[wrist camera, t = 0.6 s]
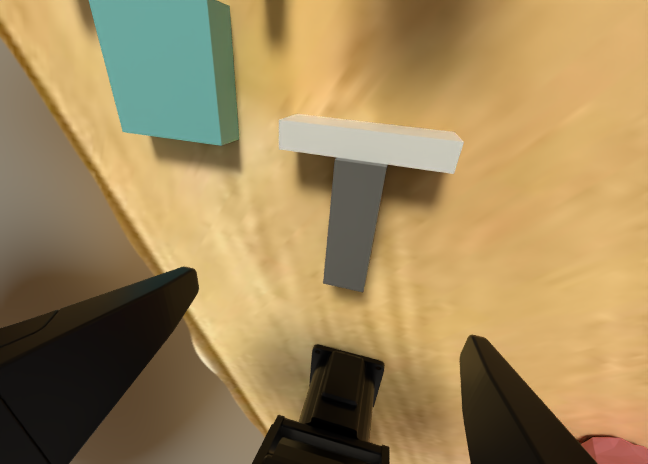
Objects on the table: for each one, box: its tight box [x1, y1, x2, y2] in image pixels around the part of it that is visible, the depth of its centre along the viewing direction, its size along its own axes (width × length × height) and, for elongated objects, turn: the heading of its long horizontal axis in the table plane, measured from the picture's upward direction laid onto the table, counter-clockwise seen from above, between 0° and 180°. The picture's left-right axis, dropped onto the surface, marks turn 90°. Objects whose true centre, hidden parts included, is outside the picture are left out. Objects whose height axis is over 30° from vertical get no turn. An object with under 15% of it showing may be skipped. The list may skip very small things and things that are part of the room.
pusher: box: [279, 114, 464, 292], centre depth 17 cm, size 10×9×4 cm
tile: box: [89, 0, 239, 146], centre depth 17 cm, size 7×7×2 cm
